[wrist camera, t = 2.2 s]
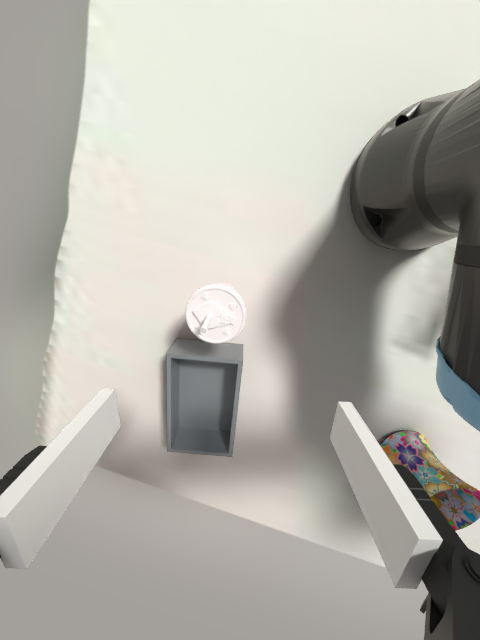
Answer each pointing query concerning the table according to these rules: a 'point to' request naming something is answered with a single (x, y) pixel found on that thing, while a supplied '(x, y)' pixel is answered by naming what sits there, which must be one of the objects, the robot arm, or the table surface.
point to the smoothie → (216, 313)
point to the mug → (434, 478)
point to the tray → (202, 396)
